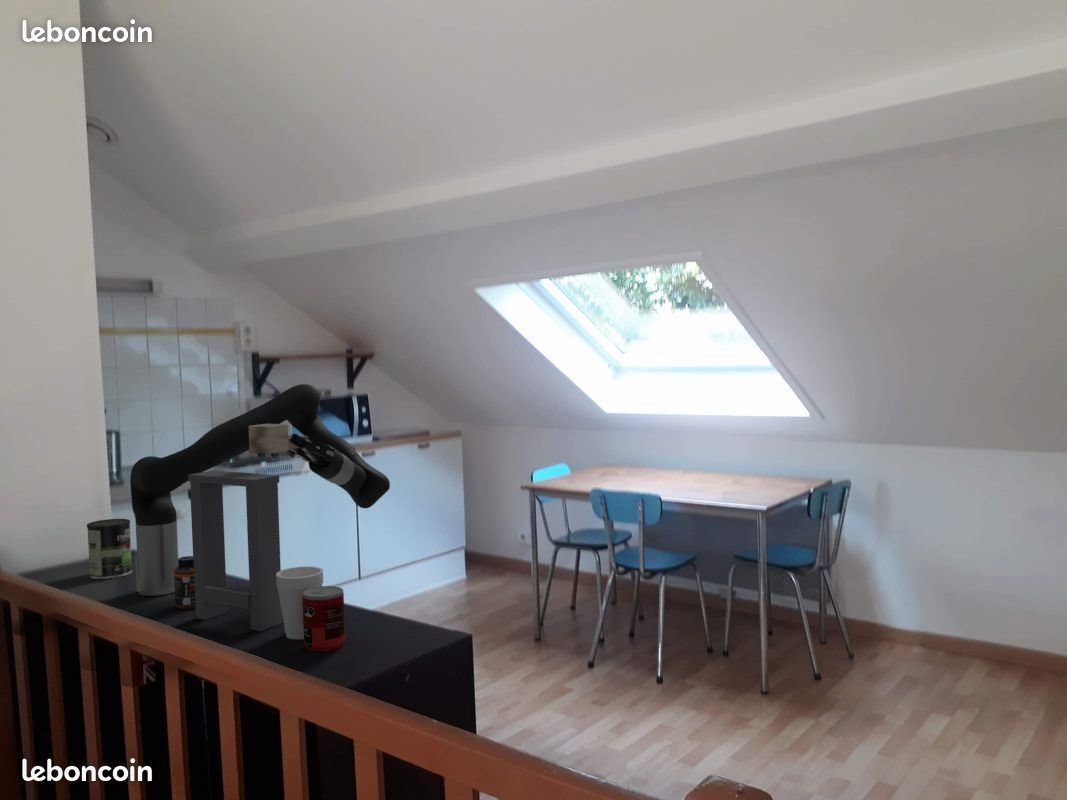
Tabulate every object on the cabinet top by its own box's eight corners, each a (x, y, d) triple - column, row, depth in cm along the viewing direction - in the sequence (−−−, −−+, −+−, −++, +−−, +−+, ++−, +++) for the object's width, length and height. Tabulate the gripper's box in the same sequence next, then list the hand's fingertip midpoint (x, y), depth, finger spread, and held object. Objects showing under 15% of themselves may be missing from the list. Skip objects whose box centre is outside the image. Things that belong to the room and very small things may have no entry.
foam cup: (282, 644, 167) (280, 580, 166) (274, 631, 175) (271, 570, 174) (330, 636, 171) (328, 574, 171) (319, 624, 180) (317, 564, 179)
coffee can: (139, 569, 229) (137, 518, 228) (120, 579, 218) (118, 526, 218) (102, 569, 229) (99, 518, 228) (81, 579, 218) (78, 526, 218)
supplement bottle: (193, 610, 191) (191, 561, 190) (169, 609, 192) (167, 560, 191) (208, 602, 197) (206, 555, 196) (185, 601, 198) (183, 554, 197)
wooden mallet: (249, 452, 189) (248, 425, 188) (294, 445, 201) (293, 420, 201) (268, 453, 186) (267, 426, 186) (313, 446, 198) (312, 421, 198)
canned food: (307, 639, 170) (306, 586, 169) (347, 638, 171) (346, 584, 170) (300, 653, 162) (298, 597, 162) (342, 651, 163) (340, 595, 162)
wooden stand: (194, 618, 185) (188, 474, 183) (219, 609, 191) (214, 470, 189) (259, 632, 175) (253, 480, 173) (284, 622, 181) (279, 475, 179)
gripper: (315, 450, 213) (270, 421, 199) (358, 452, 206) (314, 423, 193) (305, 477, 210) (259, 450, 196) (349, 481, 203) (303, 453, 190)
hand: (286, 437), depth 195 cm, fingers closed on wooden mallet, 3 cm apart
